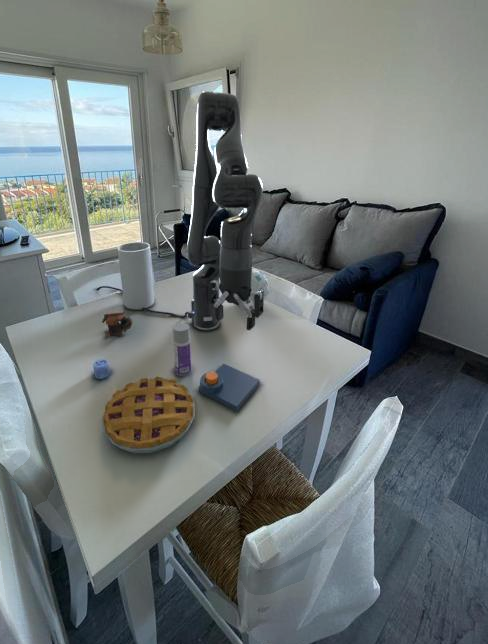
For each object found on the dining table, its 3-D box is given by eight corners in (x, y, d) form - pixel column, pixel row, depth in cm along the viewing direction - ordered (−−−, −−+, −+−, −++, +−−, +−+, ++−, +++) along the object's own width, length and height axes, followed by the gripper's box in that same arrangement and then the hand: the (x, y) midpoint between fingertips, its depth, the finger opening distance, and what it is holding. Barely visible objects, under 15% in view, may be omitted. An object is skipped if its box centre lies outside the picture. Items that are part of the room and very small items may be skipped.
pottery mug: (97, 338, 110) (95, 314, 112) (113, 336, 119) (112, 314, 121) (126, 335, 107) (124, 311, 108) (141, 333, 115) (139, 310, 117)
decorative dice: (94, 371, 94) (93, 360, 92) (109, 368, 95) (107, 357, 93) (95, 380, 90) (93, 369, 89) (110, 377, 91) (108, 365, 90)
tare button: (203, 381, 85) (203, 376, 84) (210, 375, 87) (210, 370, 86) (213, 386, 83) (213, 381, 82) (219, 379, 85) (219, 374, 85)
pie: (203, 450, 69) (203, 433, 67) (98, 470, 65) (95, 453, 63) (188, 382, 89) (187, 367, 87) (107, 394, 85) (104, 379, 83)
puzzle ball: (252, 293, 142) (254, 261, 137) (275, 306, 130) (278, 272, 125) (224, 301, 135) (224, 268, 130) (245, 316, 123) (247, 280, 118)
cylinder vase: (126, 297, 139) (119, 242, 130) (155, 296, 140) (150, 241, 131) (122, 311, 128) (115, 252, 118) (153, 309, 129) (149, 250, 119)
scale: (195, 391, 86) (195, 381, 84) (221, 367, 95) (222, 357, 94) (235, 413, 79) (235, 402, 77) (259, 384, 88) (260, 374, 87)
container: (193, 367, 95) (191, 324, 89) (187, 377, 91) (185, 332, 85) (179, 364, 96) (176, 321, 91) (172, 374, 92) (169, 329, 87)
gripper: (270, 264, 73) (266, 325, 79) (218, 254, 81) (218, 310, 87) (256, 275, 67) (253, 339, 73) (201, 262, 75) (202, 322, 81)
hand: (234, 324), depth 80 cm, fingers open, 8 cm apart
